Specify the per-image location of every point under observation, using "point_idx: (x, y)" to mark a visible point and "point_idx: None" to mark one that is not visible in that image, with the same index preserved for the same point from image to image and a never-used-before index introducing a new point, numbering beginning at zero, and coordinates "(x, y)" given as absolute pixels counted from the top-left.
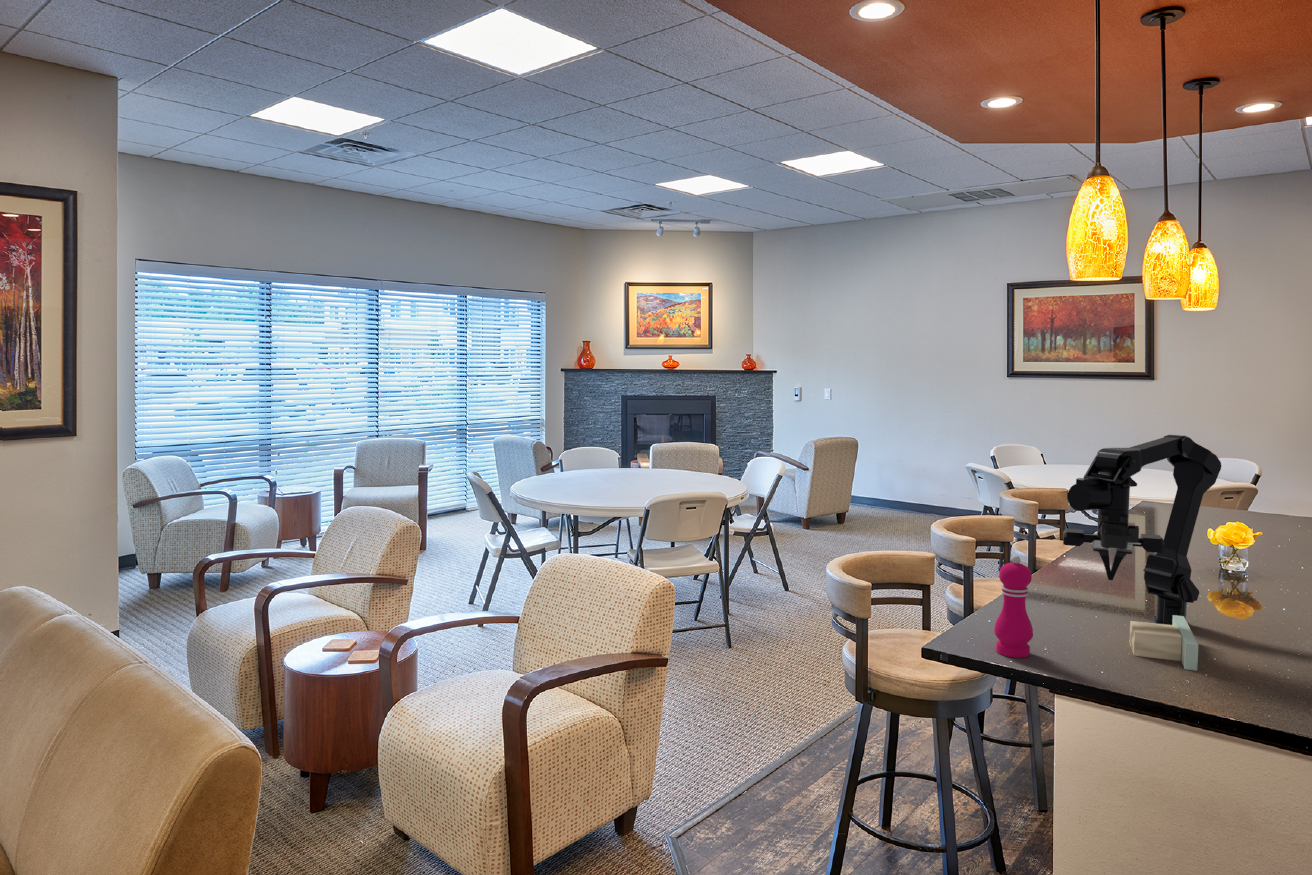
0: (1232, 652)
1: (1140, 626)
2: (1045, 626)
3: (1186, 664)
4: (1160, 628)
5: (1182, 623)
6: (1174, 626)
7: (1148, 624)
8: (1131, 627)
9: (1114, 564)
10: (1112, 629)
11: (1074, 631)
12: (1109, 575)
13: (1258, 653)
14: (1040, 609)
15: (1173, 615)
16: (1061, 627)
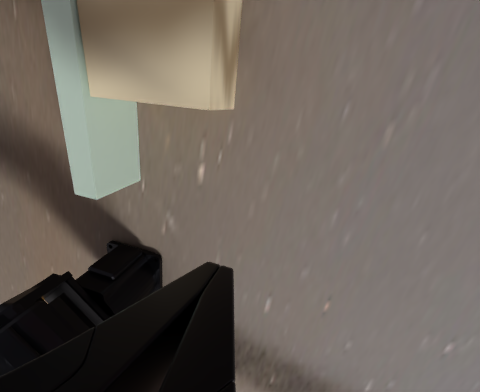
0: (45, 108)
1: (185, 33)
2: (447, 215)
3: None
4: (126, 34)
5: (72, 114)
6: (91, 82)
7: (158, 78)
8: (216, 63)
9: (112, 358)
10: (252, 219)
11: (364, 182)
12: (217, 283)
13: (13, 117)
14: (392, 351)
15: (95, 196)
16: (392, 213)
